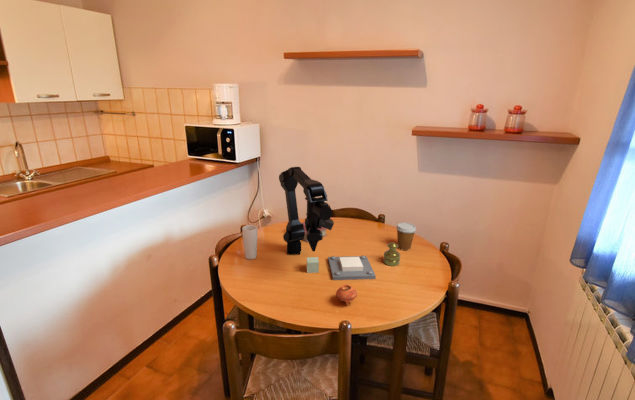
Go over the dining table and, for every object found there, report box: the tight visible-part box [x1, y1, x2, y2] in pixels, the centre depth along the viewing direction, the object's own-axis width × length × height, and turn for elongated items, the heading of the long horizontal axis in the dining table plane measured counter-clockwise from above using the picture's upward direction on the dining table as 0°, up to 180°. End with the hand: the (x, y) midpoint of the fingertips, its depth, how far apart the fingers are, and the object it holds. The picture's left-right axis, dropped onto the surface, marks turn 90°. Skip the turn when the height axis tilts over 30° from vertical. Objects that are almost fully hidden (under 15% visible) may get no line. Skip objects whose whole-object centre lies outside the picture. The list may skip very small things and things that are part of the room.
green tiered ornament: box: [383, 241, 401, 267], centre depth 159 cm, size 7×8×10 cm
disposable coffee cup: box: [395, 222, 417, 251], centre depth 174 cm, size 10×10×12 cm
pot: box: [335, 284, 358, 307], centre depth 130 cm, size 8×8×7 cm
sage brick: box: [306, 256, 320, 274], centre depth 151 cm, size 5×5×5 cm
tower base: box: [327, 255, 377, 281], centre depth 153 cm, size 18×18×4 cm
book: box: [301, 221, 328, 244], centre depth 188 cm, size 14×15×5 cm
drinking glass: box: [241, 224, 258, 260], centre depth 160 cm, size 7×7×15 cm
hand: (312, 246), depth 149 cm, fingers open, 9 cm apart
